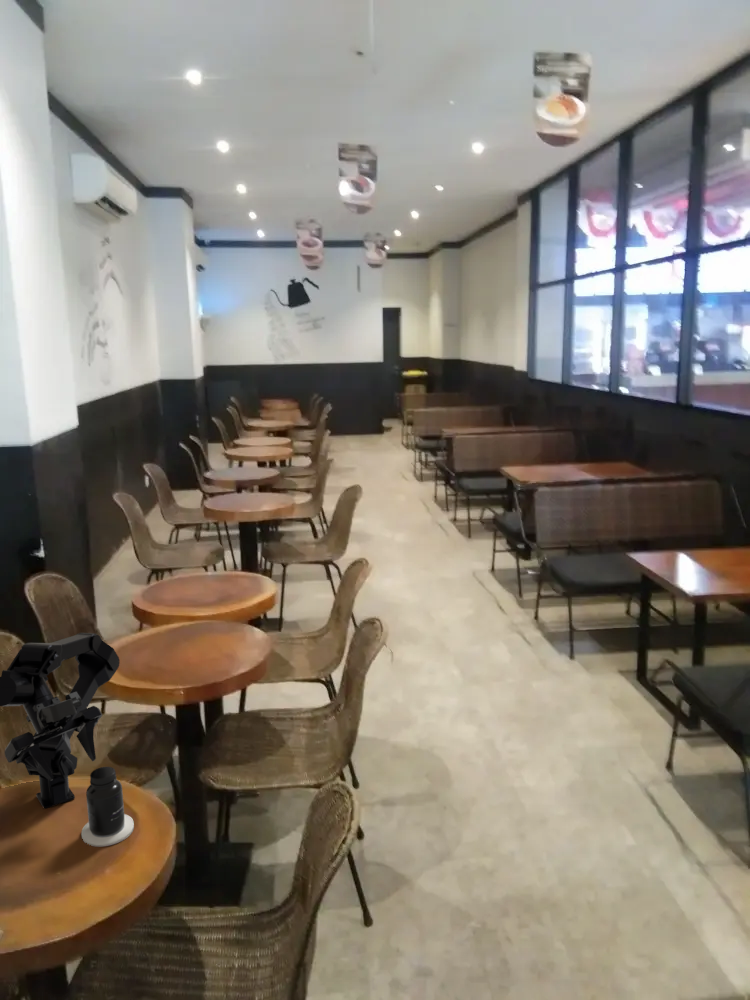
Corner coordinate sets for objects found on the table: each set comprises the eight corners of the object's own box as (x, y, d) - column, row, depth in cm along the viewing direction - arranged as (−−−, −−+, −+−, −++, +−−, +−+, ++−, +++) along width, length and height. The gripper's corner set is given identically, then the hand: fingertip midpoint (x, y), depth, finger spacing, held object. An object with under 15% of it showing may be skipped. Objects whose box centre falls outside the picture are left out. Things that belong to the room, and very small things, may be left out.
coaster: (75, 828, 158) (74, 824, 158) (123, 810, 164) (123, 806, 164) (91, 853, 151) (90, 849, 150) (141, 833, 156) (141, 829, 156)
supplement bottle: (124, 834, 155) (119, 779, 152) (87, 839, 153) (82, 784, 151) (126, 813, 161) (121, 761, 159) (91, 819, 160) (86, 766, 157)
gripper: (6, 700, 148) (42, 772, 143) (93, 669, 162) (129, 733, 158) (-11, 727, 154) (23, 797, 149) (75, 694, 168) (109, 757, 164)
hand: (73, 769), depth 155 cm, fingers open, 9 cm apart
